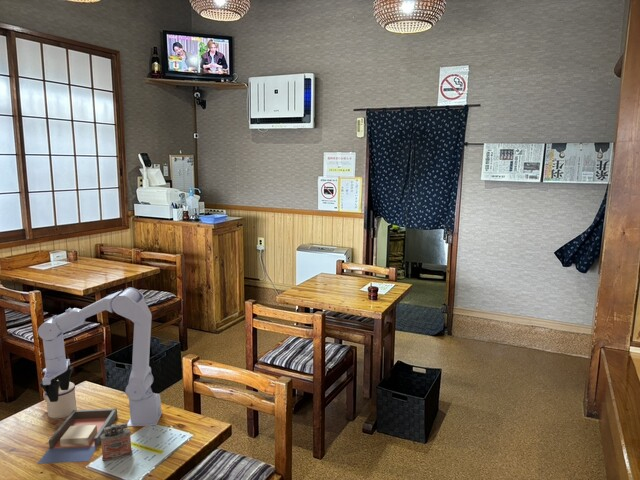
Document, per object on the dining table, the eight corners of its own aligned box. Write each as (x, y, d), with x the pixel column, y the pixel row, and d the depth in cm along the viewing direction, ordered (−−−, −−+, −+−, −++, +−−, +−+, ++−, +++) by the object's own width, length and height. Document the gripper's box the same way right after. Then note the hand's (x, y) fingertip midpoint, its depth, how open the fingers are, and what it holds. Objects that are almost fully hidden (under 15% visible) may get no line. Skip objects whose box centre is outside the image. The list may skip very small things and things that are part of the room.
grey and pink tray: (117, 416, 159) (116, 408, 159) (98, 447, 142) (97, 438, 142) (74, 418, 158) (73, 410, 158) (49, 449, 141) (48, 440, 141)
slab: (97, 432, 150) (96, 424, 149) (88, 445, 143) (87, 437, 142) (70, 433, 149) (70, 426, 148) (60, 446, 142) (59, 439, 142)
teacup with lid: (83, 408, 165) (80, 376, 163) (61, 421, 156) (58, 388, 154) (56, 402, 169) (53, 371, 167) (34, 415, 160) (30, 383, 158)
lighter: (102, 463, 135) (99, 431, 133) (102, 457, 138) (99, 425, 136) (132, 456, 138) (130, 425, 136) (132, 450, 141) (129, 419, 139)
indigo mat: (98, 447, 142) (97, 446, 142) (88, 462, 135) (88, 461, 135) (49, 449, 141) (49, 448, 141) (37, 464, 134) (37, 463, 134)
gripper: (52, 347, 158) (57, 385, 160) (30, 366, 144) (35, 407, 146) (74, 346, 159) (78, 384, 161) (54, 365, 144) (59, 406, 147)
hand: (59, 395), depth 154 cm, fingers open, 7 cm apart
